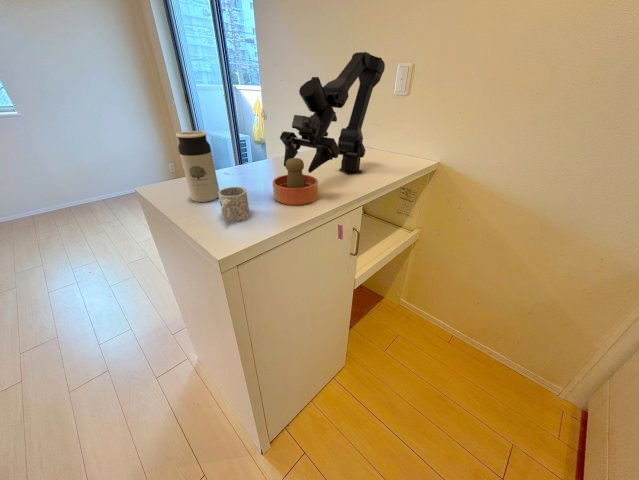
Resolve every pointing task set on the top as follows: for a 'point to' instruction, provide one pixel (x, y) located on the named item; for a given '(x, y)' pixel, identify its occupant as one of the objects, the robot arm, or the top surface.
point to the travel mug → (198, 165)
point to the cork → (295, 173)
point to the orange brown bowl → (295, 191)
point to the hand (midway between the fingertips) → (296, 169)
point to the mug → (234, 204)
